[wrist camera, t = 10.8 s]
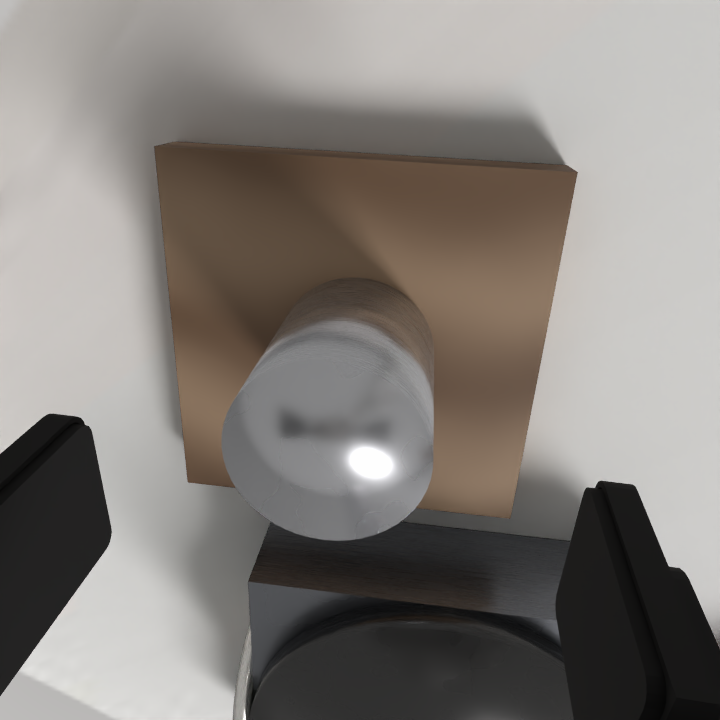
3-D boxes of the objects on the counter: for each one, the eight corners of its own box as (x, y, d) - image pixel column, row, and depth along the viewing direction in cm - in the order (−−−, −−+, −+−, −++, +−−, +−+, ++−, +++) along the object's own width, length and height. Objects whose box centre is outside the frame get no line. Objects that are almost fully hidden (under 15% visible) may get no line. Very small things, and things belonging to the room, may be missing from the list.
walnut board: (174, 141, 19) (154, 146, 17) (566, 165, 18) (577, 172, 16) (201, 459, 24) (187, 482, 22) (506, 492, 23) (510, 518, 21)
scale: (260, 494, 25) (214, 600, 20) (623, 535, 24) (674, 661, 19) (268, 709, 31) (234, 833, 26) (557, 752, 30) (582, 891, 25)
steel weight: (279, 271, 18) (214, 351, 13) (441, 283, 18) (443, 370, 13) (282, 411, 21) (227, 529, 15) (426, 424, 20) (423, 551, 15)
